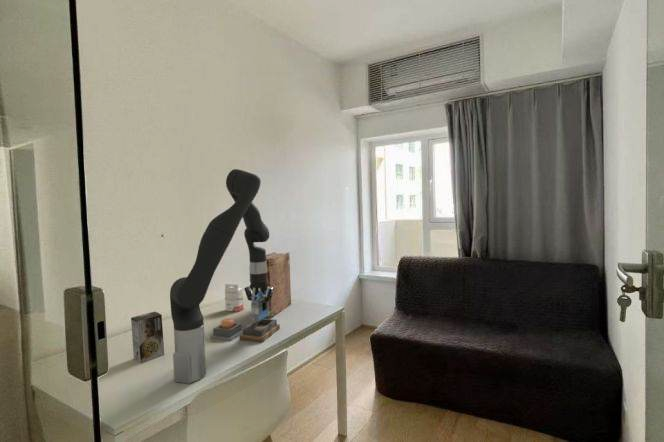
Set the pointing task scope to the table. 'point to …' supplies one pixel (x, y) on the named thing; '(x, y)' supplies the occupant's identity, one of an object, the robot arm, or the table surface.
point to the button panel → (227, 332)
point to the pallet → (260, 330)
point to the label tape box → (258, 309)
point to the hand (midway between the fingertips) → (259, 309)
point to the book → (278, 282)
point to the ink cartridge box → (233, 298)
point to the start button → (227, 323)
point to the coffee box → (147, 336)
